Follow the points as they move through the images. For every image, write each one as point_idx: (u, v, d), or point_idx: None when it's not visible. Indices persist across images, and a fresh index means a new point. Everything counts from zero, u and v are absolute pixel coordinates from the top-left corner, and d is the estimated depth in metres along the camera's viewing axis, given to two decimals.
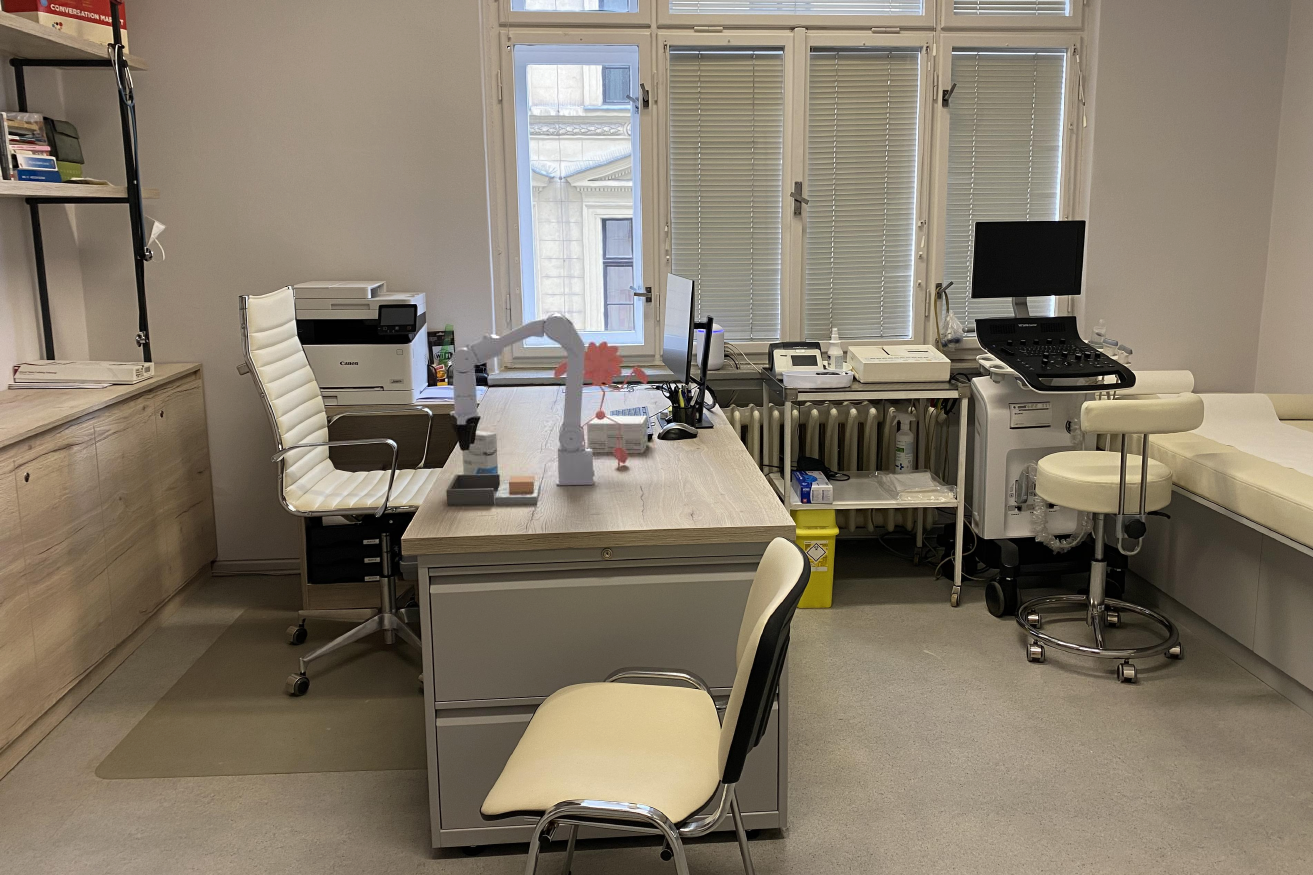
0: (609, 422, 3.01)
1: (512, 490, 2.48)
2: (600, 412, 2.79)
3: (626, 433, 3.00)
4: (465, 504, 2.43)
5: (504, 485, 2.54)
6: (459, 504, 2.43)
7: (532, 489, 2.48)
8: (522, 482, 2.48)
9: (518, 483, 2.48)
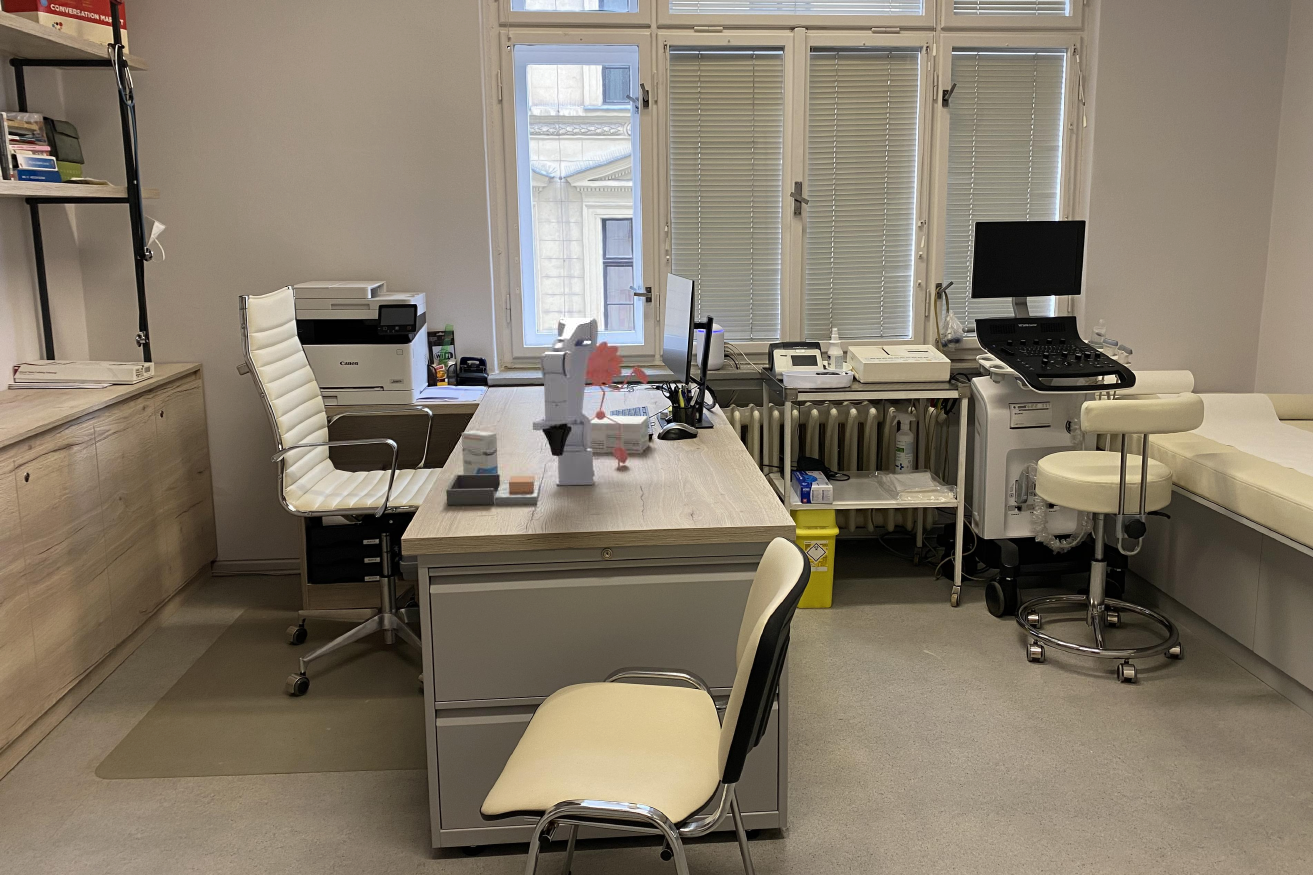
0: (608, 422, 3.01)
1: (512, 490, 2.48)
2: (600, 412, 2.79)
3: (625, 434, 3.00)
4: (465, 504, 2.43)
5: (504, 485, 2.54)
6: (459, 504, 2.43)
7: (532, 489, 2.48)
8: (522, 482, 2.48)
9: (518, 483, 2.48)
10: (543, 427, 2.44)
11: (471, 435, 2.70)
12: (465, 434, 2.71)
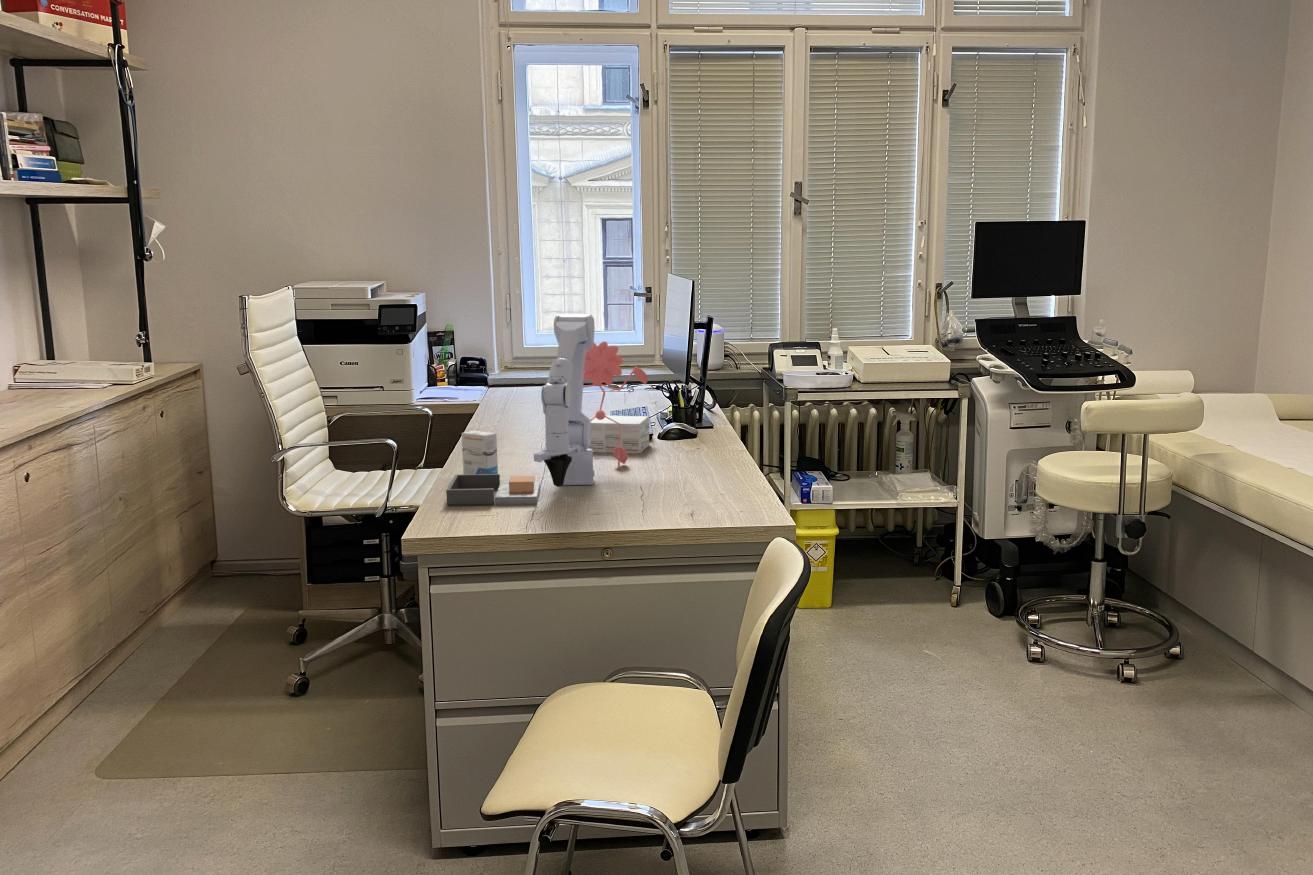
0: (607, 422, 3.01)
1: (512, 490, 2.48)
2: (600, 412, 2.79)
3: (624, 434, 3.00)
4: (465, 504, 2.43)
5: (504, 485, 2.54)
6: (459, 504, 2.43)
7: (532, 489, 2.48)
8: (522, 482, 2.48)
9: (518, 483, 2.48)
10: (544, 458, 2.46)
11: (471, 435, 2.70)
12: (465, 434, 2.71)
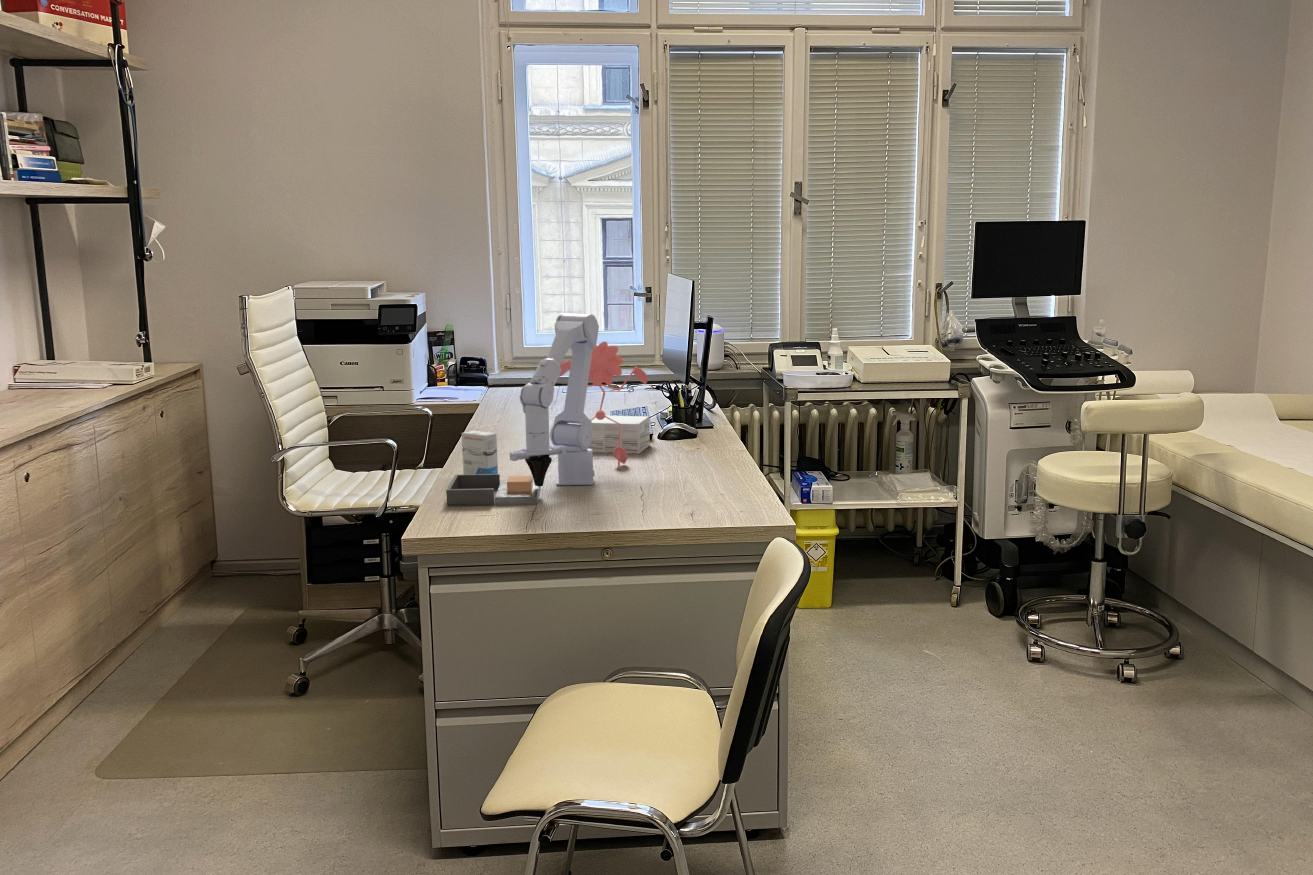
0: (607, 422, 3.01)
1: (510, 490, 2.48)
2: (600, 412, 2.79)
3: (623, 434, 3.00)
4: (465, 504, 2.43)
5: (504, 485, 2.54)
6: (459, 504, 2.43)
7: (530, 489, 2.48)
8: (520, 482, 2.48)
9: (516, 483, 2.48)
10: (520, 458, 2.47)
11: (471, 435, 2.70)
12: (465, 434, 2.71)
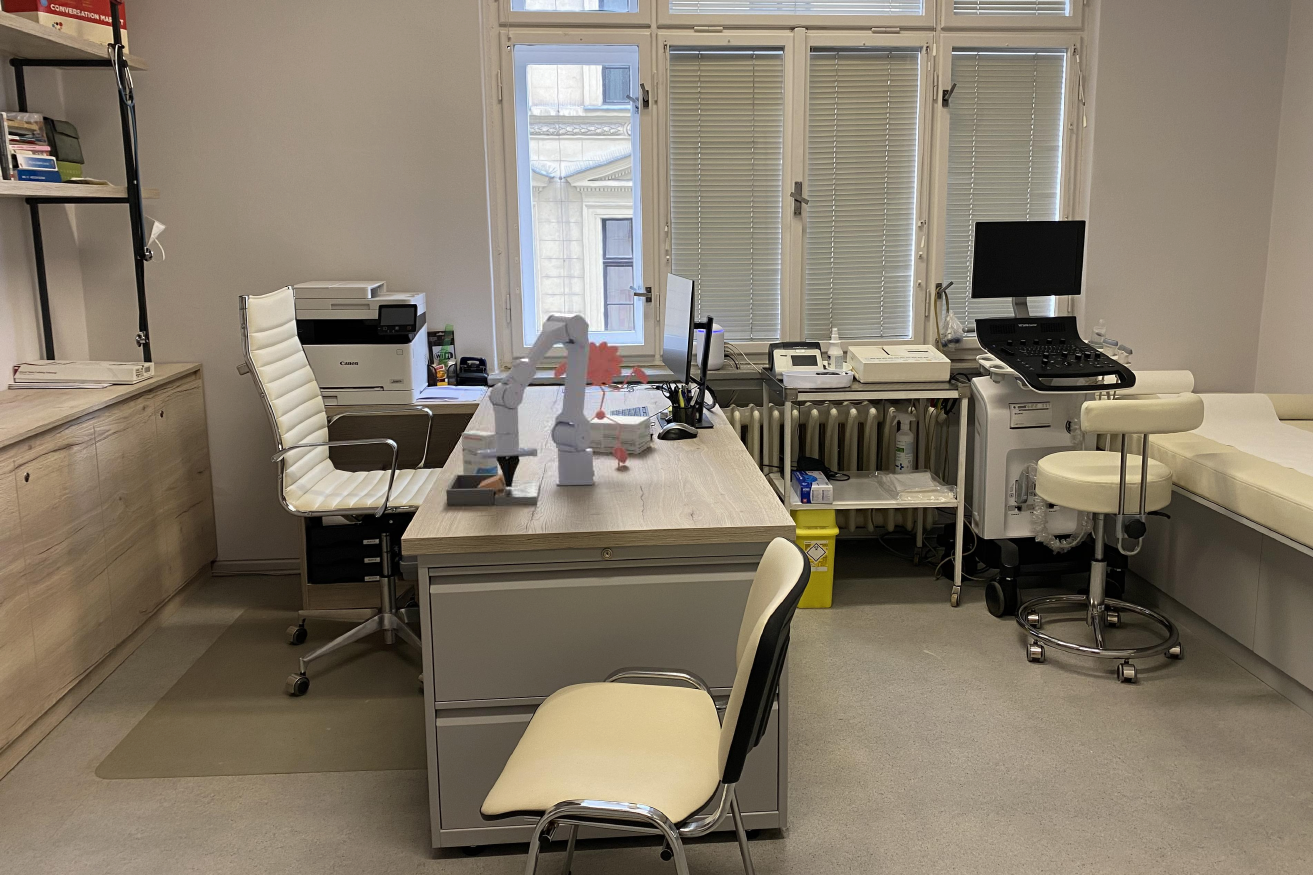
0: (606, 422, 3.02)
1: None
2: (600, 412, 2.79)
3: (621, 434, 2.99)
4: (465, 504, 2.43)
5: None
6: (459, 504, 2.43)
7: (501, 486, 2.49)
8: (489, 483, 2.49)
9: (486, 485, 2.49)
10: (487, 457, 2.48)
11: (471, 435, 2.70)
12: (465, 434, 2.71)
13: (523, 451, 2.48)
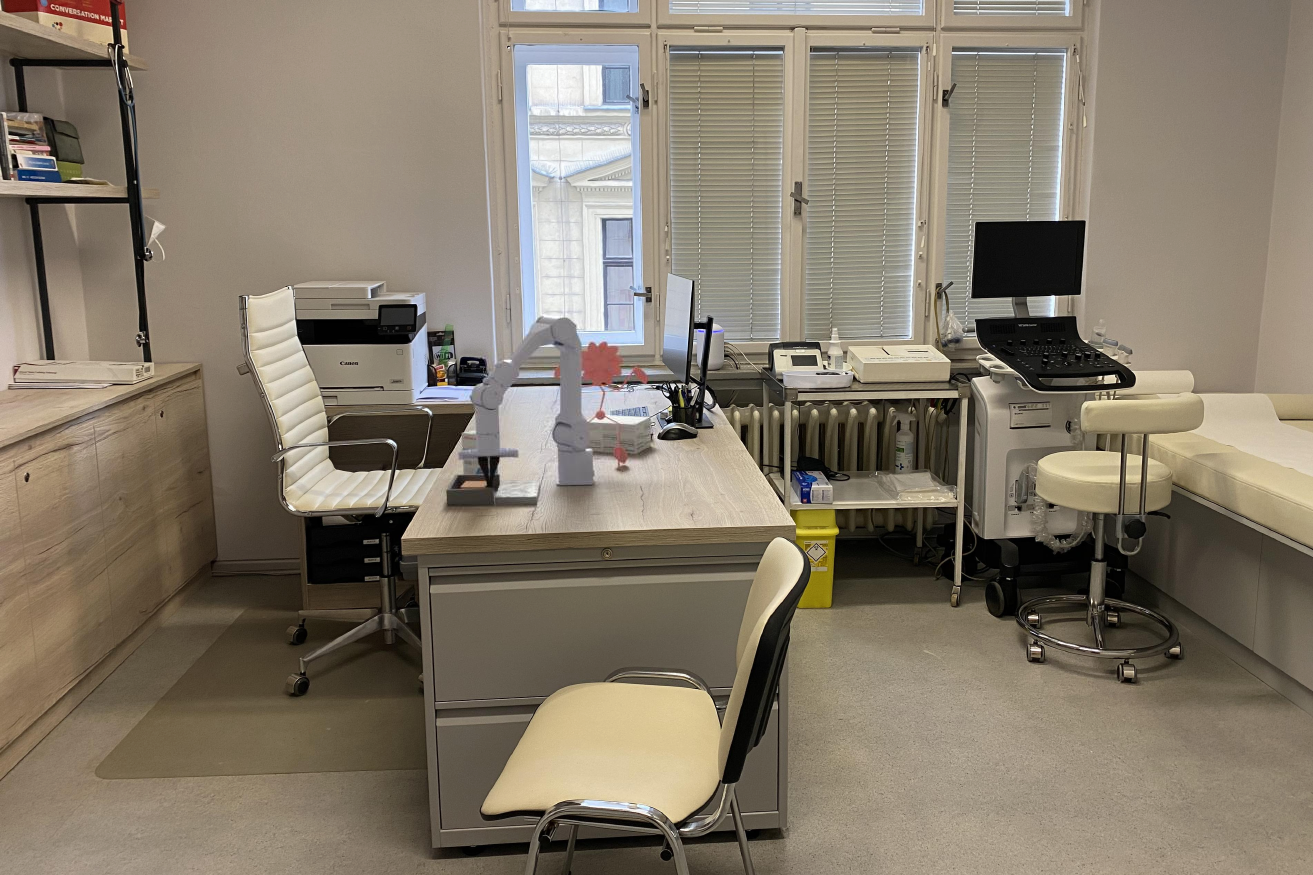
0: (605, 422, 3.02)
1: None
2: (600, 412, 2.79)
3: (620, 434, 2.99)
4: (465, 504, 2.43)
5: (504, 485, 2.54)
6: (459, 504, 2.43)
7: None
8: (474, 487, 2.49)
9: (470, 488, 2.49)
10: (468, 457, 2.48)
11: (471, 435, 2.70)
12: (465, 434, 2.71)
13: (503, 452, 2.47)
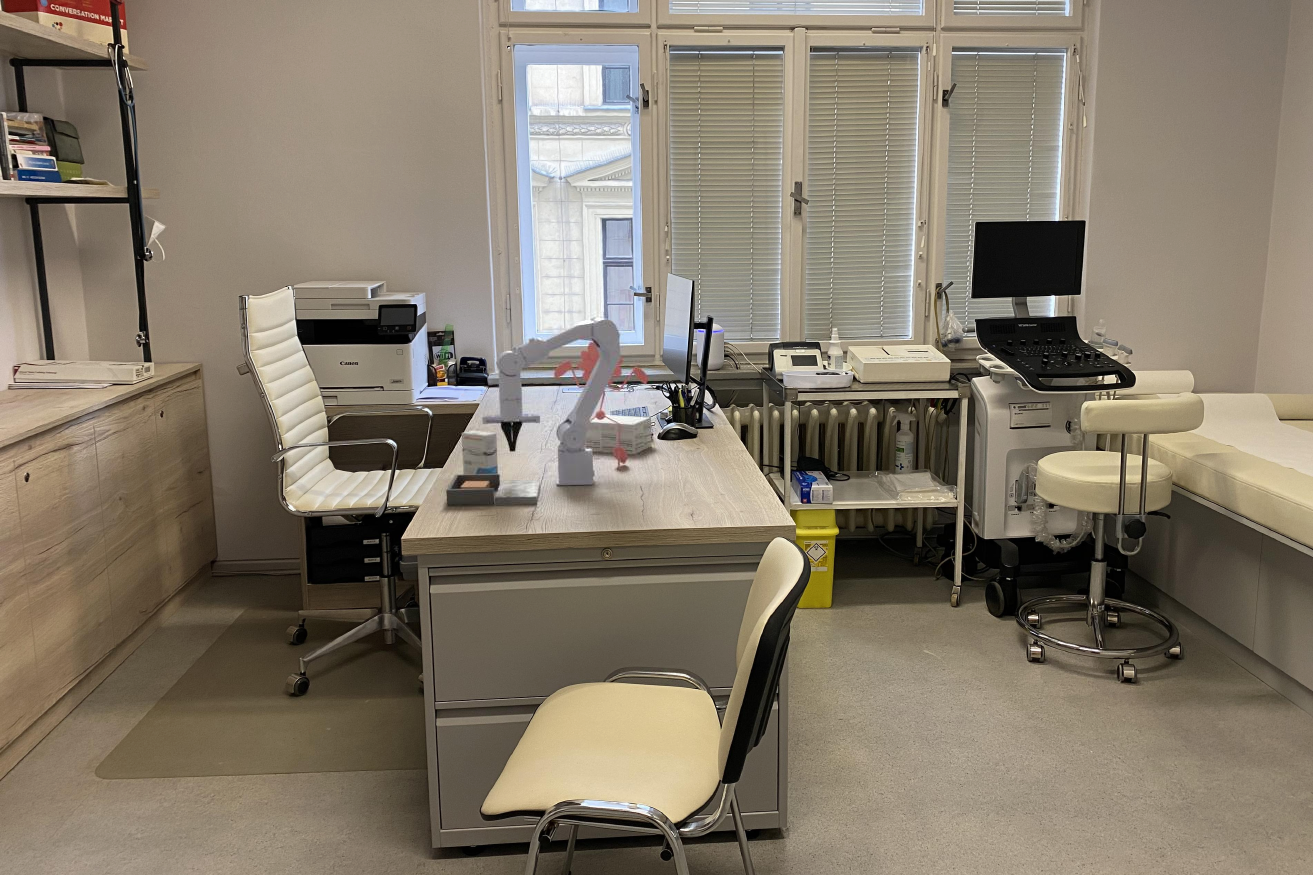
0: (605, 421, 3.02)
1: None
2: (600, 412, 2.79)
3: None
4: (465, 504, 2.43)
5: (504, 485, 2.54)
6: (459, 504, 2.43)
7: None
8: (474, 487, 2.49)
9: (470, 488, 2.49)
10: (492, 422, 2.58)
11: (471, 435, 2.70)
12: (465, 434, 2.71)
13: (525, 417, 2.57)
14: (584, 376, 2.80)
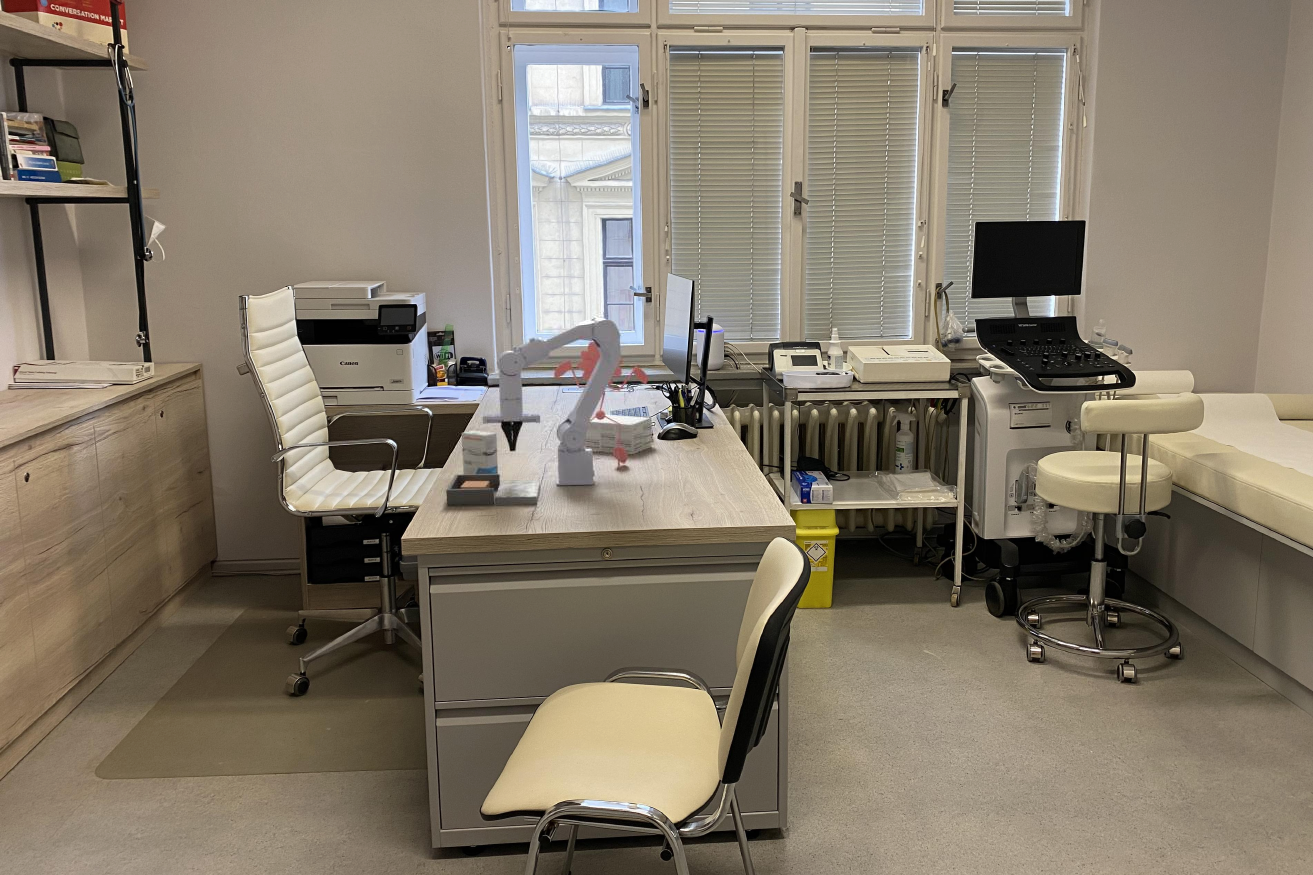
0: (604, 421, 3.02)
1: None
2: (600, 412, 2.79)
3: (618, 434, 2.99)
4: (465, 504, 2.43)
5: (504, 485, 2.54)
6: (459, 504, 2.43)
7: None
8: (474, 487, 2.49)
9: (470, 488, 2.49)
10: (492, 421, 2.58)
11: (471, 435, 2.70)
12: (465, 434, 2.71)
13: (525, 417, 2.57)
14: (584, 376, 2.80)
